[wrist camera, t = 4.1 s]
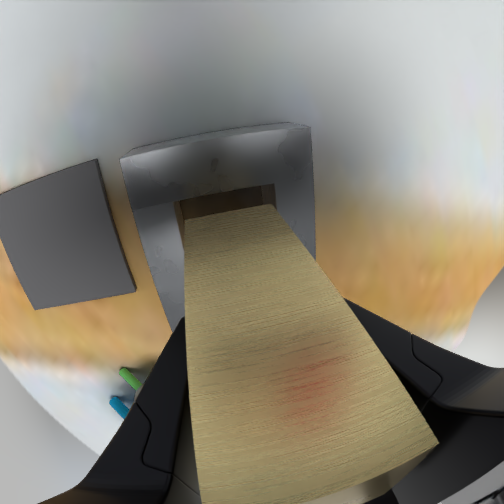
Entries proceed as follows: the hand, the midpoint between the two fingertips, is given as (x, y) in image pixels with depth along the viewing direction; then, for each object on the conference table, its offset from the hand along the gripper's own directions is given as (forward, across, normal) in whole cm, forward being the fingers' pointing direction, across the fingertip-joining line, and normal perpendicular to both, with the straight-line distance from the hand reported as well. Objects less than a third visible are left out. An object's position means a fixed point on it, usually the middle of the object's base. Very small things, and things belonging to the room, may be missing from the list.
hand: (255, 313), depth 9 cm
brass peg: (+4, 0, 0) cm, 4 cm away
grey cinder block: (+8, 0, +4) cm, 9 cm away
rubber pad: (+8, +10, 0) cm, 13 cm away
